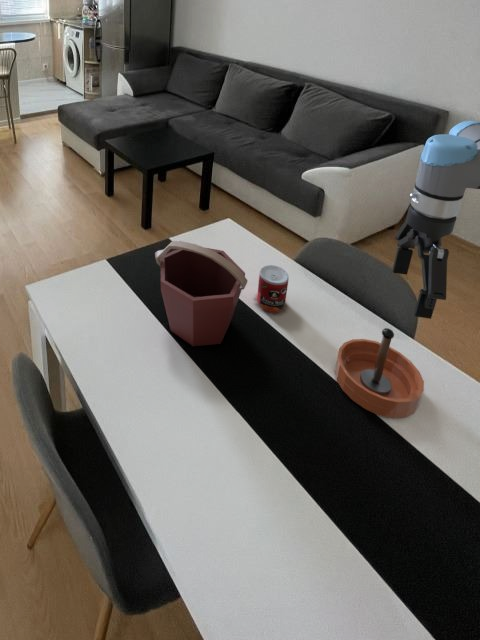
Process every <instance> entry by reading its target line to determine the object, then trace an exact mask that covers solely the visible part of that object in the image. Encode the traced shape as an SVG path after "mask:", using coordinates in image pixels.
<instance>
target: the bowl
mask: <svg viewBox="0 0 480 640" xmlns="http://www.w3.org/2000/svg"><path fill="white" fill-rule="evenodd" d="M380 345H381V342H379V341H376V340H371V339H366V338H356V339H355V338H354V339H349V340H348V341H345V342H343V343H342V344H341V346H340V347H338V352H337V357H336V362H335V367H334V375H335V380H336V382H337V383H338V385H339V387H340V389H341V390H342V392H344V393H345V394H346V395H347V396H348V398H349V399H351V400H352V401H353V402H354V403H355V404H357V405H359V406H360V407H361V408H363V409H365V410H366V411H367V412H371V413H372V414H375V415H378V416H380V417H383V418H389V419H407V418H408V417H410V416H412V415H414V414H415V413H416V412H417V410H418V408H419V407H420V403H421V400H422V398H423V394H424V391H425V383H424V382H425V381H424V379H423V377H422V374H421V372H420V370H419V369H418V368H417V367H416V366H415V365H414V363H413V362H412V360H410V359H409V358H408V357H406V356H405V355H404V354H402V353H401V352H400V351H398V350H397V349H394V348H393V347H391V346H389V350H388V354H387V358H386V361H385V365H384V369H383V373H382V374H383V375H385V376H386V377H387V378H388V379H389V381H390V383H391V391H390V393H389V394H388V395H385V396H381V395H379V394H376V393H374V392H372V391H370V390H368V389H366V388H365V387H364V386H363V385H362V383H361V381H360V376H361V372H362V371H363V370H366V369H372V370H374V368H375V364H376V360H377V356H378V352H379V348H380Z"/></svg>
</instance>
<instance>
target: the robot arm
mask: <svg viewBox="0 0 480 640" xmlns="http://www.w3.org/2000/svg"><path fill="white" fill-rule="evenodd" d="M466 189H474V190H480V121H477V120H464V121H462V122H459V123H457V124H456V125H454V126H453V127H452V128H451V129H450V130H449V131H448V134H447V133H444V134H443V133H441V134H435V135H432V136H431V137H428V139H427V140H426V141H425V144H424V146H423V149H422V152H421V155H420V158H419V166H418V169H417V174H416V178H415V182H414V186H413V190H412V192H411V193H409V197H410V198H411V199H410V205H408V209H407V214H406V217H405V220H404V222H403V223H402V225H401V226H400V228H399V229H398V230H397V232H396V234H395V236H394V239H395V240H396V241H397V243H396V246H397V249H396V252H395V253H396V254H395V257H394V261H393V264H392V265H393V266H392V270H391V271H392V273H394V274H398V275H399V274H400V275H408V273H409V269H410V265H411V261H412V256H413V253H414V251H413V250H415V249H417V257H418V258H419V259H420V260H421V275H422V285H423V286H422V288H420V289H419V290H418V291H419V293H418V298H417V301H416V305H415V308H414V311H413V315H414V317H416V318H423V319H429V320H431V319H432V317H433V314H434V311H435V307H436V303H437V300H441V301H446V300H447V285H448V284H447V283H448V282H447V280H448V279H447V278H448V272H447V271H448V259H449V255H450V254H449V253H450V251H449V248H444V247H442V238H443V237H446V236H449V235H452V233H453V232H454V228H455V225H456V222H457V216H458V215H459V212H460V209H461V206H462V203H463V199H464V196H465V192H466Z"/></svg>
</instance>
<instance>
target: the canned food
mask: <svg viewBox="0 0 480 640" xmlns="http://www.w3.org/2000/svg"><path fill="white" fill-rule="evenodd" d="M289 277H290V276H289V274H288V272H287V270H285V269H284V268H283V267H280V266H278V265H274V264H267V265H264V266H262V267H261V268H260V270H259V276H258V283H257V293H256V295H257V296H256V300H257V304H258V305H259V307H260V308H261V309H262V310H264V311H266V312H267V313H274V314H275V313H280V312H282V311H283V310H284V308H285V307H286V299H287V292H288V286H289Z"/></svg>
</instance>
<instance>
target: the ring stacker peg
mask: <svg viewBox="0 0 480 640" xmlns="http://www.w3.org/2000/svg"><path fill="white" fill-rule="evenodd" d="M381 335H382V336H381V341H380V343H381V345H380V348H379V352H378V356H377V360H376V364H375V368H374V370H372V369H366V370H363V371H362V372H361V376H360V381H361V383H362V385H363V386H364V387H365V388H366V389H368V390H370V391H372V392H374V393H376V394H379V395H381V396H385V395H388V394H389V393H390V391H391V383H390V381H389V379H388V378H387V377H386V376H385V375H383V374H382V373H383V369H384V365H385V361H386V358H387V354H388V350H389V347H391V342H392V339H393V338H394V337H395V333H394V331H393V330H392V329H391V328H388V327H386V328H382V331H381Z"/></svg>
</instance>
